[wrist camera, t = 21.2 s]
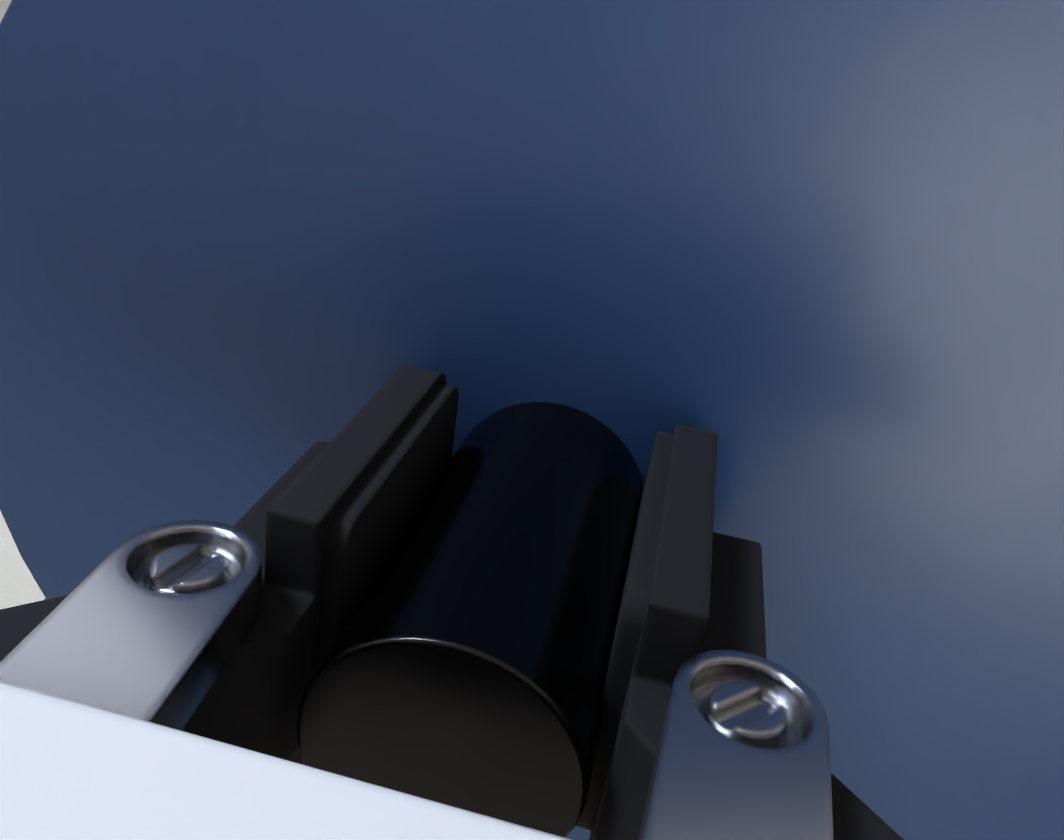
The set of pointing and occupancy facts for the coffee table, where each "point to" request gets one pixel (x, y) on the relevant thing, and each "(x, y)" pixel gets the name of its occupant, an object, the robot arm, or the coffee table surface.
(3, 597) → the coffee table surface
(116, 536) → the lid
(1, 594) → the coffee table surface
